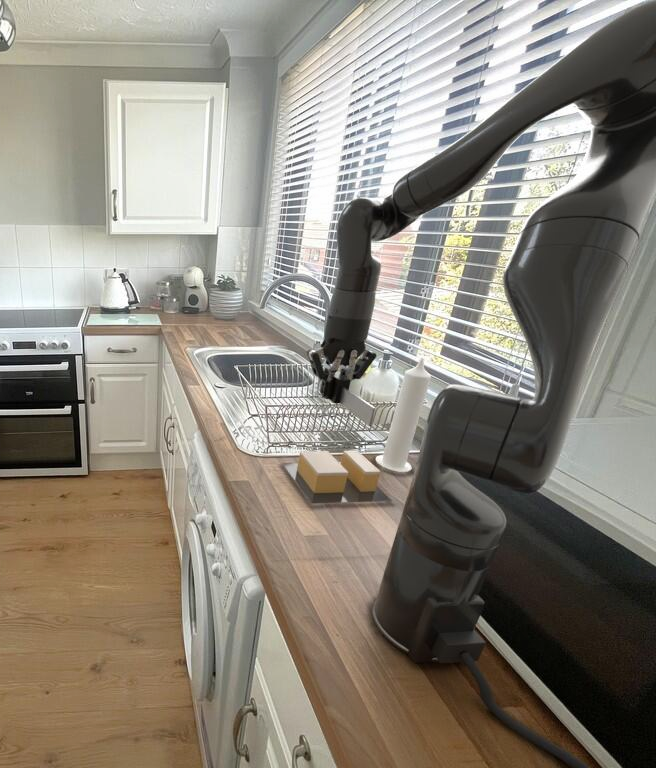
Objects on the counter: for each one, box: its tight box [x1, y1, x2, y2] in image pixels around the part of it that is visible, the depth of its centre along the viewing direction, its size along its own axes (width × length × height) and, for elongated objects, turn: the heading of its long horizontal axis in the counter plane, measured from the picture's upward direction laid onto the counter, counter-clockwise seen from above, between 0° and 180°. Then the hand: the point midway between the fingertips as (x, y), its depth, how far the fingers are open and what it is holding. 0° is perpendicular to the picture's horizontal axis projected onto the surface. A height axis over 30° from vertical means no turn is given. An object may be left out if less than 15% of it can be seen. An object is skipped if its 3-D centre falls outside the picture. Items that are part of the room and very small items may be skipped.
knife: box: [328, 371, 376, 427], centre depth 79 cm, size 16×2×5 cm, turn 5°
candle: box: [375, 357, 432, 473], centre depth 87 cm, size 7×7×25 cm
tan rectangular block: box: [297, 450, 348, 493], centre depth 83 cm, size 8×6×5 cm
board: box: [281, 461, 393, 505], centre depth 84 cm, size 14×16×1 cm
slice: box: [340, 449, 381, 492], centre depth 84 cm, size 8×3×5 cm, turn 5°
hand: (332, 397), depth 84 cm, fingers closed on knife, 2 cm apart
